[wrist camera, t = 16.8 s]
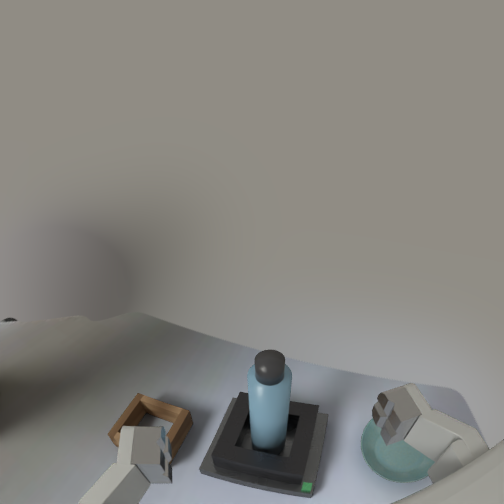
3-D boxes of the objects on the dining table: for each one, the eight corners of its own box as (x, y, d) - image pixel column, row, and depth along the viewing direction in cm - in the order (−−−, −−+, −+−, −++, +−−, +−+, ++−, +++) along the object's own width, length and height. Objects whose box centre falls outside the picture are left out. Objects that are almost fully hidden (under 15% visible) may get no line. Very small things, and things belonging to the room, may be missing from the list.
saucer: (454, 451, 27) (462, 442, 26) (393, 505, 23) (400, 499, 22) (402, 403, 37) (406, 393, 36) (339, 444, 32) (342, 435, 31)
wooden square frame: (115, 445, 31) (107, 434, 30) (143, 405, 38) (137, 392, 37) (167, 468, 29) (161, 458, 28) (193, 422, 36) (189, 410, 35)
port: (201, 473, 29) (194, 458, 27) (233, 403, 39) (231, 383, 38) (310, 497, 26) (316, 485, 24) (326, 420, 36) (332, 400, 34)
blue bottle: (247, 452, 31) (240, 371, 24) (256, 427, 34) (254, 341, 28) (280, 459, 30) (288, 380, 23) (288, 433, 33) (297, 348, 27)
